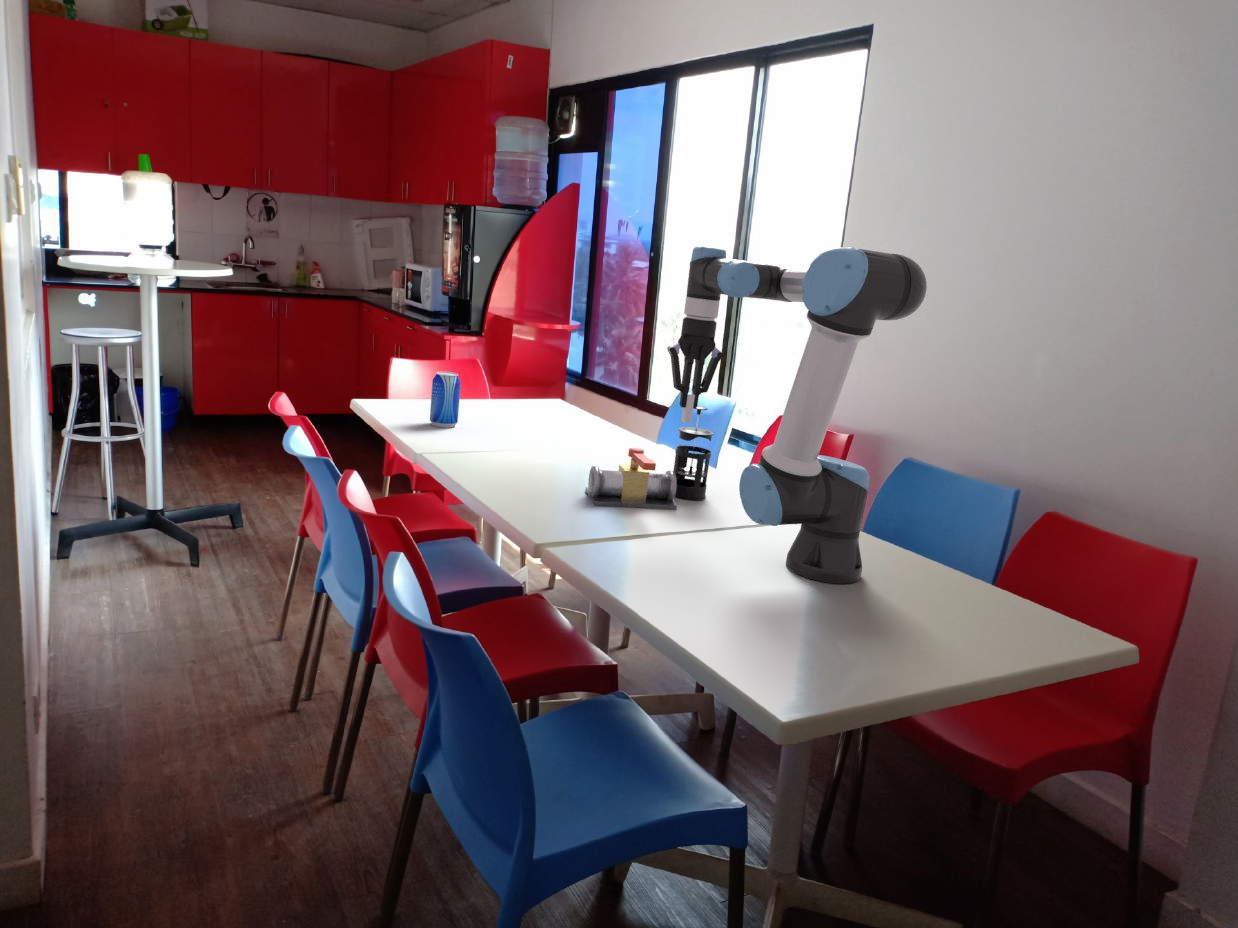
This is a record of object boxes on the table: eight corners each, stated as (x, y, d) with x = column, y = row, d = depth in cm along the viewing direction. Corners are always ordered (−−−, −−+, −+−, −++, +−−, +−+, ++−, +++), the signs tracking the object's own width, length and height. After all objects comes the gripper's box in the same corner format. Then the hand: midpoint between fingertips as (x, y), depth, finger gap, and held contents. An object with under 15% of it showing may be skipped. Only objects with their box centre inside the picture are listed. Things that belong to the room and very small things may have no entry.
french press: (713, 501, 232) (726, 411, 227) (679, 501, 228) (692, 410, 223) (692, 488, 243) (704, 402, 237) (660, 488, 239) (671, 400, 234)
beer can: (426, 422, 285) (430, 370, 281) (453, 422, 289) (457, 371, 285) (433, 428, 278) (436, 375, 274) (460, 428, 281) (464, 376, 278)
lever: (626, 454, 223) (627, 447, 222) (641, 455, 224) (641, 448, 223) (641, 469, 209) (642, 462, 208) (656, 470, 210) (657, 463, 209)
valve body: (663, 495, 232) (668, 455, 230) (676, 509, 221) (682, 467, 218) (585, 491, 227) (589, 449, 225) (594, 505, 216) (599, 461, 214)
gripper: (722, 319, 211) (708, 420, 216) (667, 313, 208) (654, 416, 213) (733, 322, 204) (718, 427, 209) (676, 316, 201) (662, 423, 206)
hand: (686, 421), depth 211 cm, fingers closed
